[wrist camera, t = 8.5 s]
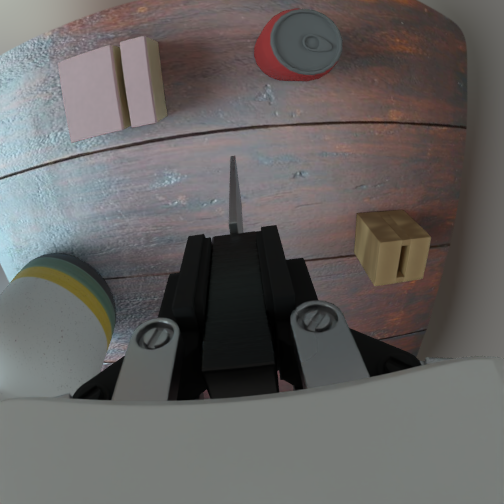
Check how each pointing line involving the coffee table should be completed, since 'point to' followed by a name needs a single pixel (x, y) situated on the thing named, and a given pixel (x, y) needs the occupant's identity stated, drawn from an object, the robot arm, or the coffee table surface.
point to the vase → (53, 327)
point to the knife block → (391, 246)
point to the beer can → (298, 46)
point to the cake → (94, 93)
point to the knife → (237, 313)
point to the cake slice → (143, 81)
